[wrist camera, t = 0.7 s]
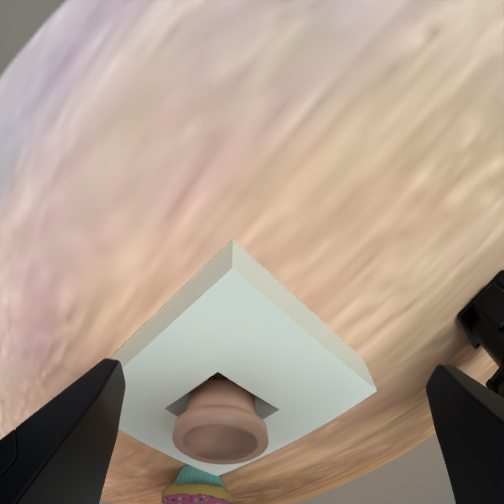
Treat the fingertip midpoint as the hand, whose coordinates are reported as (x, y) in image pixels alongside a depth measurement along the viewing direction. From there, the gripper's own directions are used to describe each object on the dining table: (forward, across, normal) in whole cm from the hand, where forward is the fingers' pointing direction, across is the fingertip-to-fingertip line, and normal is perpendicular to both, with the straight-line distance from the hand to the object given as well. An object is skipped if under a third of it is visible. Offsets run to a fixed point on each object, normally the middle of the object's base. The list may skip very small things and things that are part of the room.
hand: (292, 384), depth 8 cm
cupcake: (+13, +4, +32) cm, 35 cm away
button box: (+13, +2, +13) cm, 18 cm away
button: (+10, +2, +13) cm, 16 cm away
